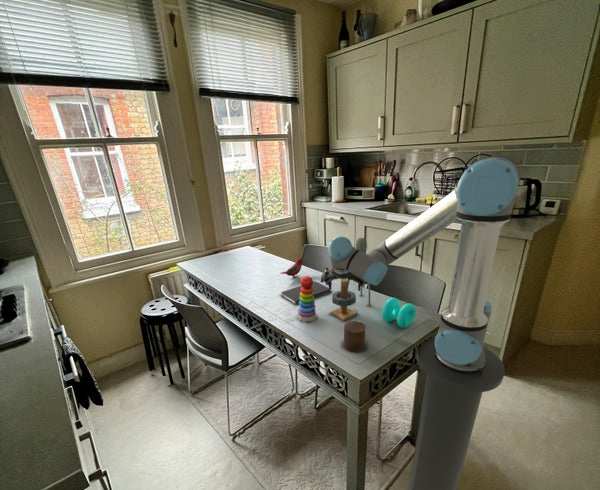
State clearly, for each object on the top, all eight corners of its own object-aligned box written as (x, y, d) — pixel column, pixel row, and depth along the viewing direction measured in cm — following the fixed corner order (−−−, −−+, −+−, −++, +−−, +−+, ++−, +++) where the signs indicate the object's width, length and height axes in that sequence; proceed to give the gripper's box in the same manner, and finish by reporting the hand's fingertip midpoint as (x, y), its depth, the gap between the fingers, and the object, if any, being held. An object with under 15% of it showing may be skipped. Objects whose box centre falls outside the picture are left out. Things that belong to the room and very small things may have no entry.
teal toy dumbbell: (393, 314, 133) (395, 293, 129) (415, 323, 126) (418, 301, 122) (379, 323, 127) (381, 301, 123) (401, 333, 120) (404, 310, 116)
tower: (357, 314, 135) (358, 280, 128) (344, 321, 130) (345, 285, 123) (343, 308, 140) (343, 274, 134) (330, 314, 136) (330, 280, 129)
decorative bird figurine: (305, 274, 177) (304, 257, 173) (282, 284, 166) (281, 266, 162) (301, 273, 179) (301, 256, 175) (278, 283, 168) (277, 265, 164)
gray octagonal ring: (360, 300, 131) (360, 295, 130) (344, 308, 126) (344, 302, 125) (343, 293, 138) (343, 288, 137) (327, 300, 133) (327, 295, 132)
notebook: (295, 304, 145) (330, 291, 156) (295, 301, 144) (330, 288, 155) (280, 295, 155) (315, 283, 165) (280, 292, 154) (314, 281, 165)
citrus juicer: (361, 295, 151) (363, 233, 139) (377, 301, 144) (382, 238, 132) (344, 302, 145) (346, 239, 132) (361, 310, 138) (364, 244, 125)
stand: (369, 345, 114) (370, 326, 111) (355, 354, 110) (356, 335, 106) (353, 337, 119) (353, 318, 116) (339, 345, 115) (339, 326, 112)
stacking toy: (313, 323, 129) (312, 281, 122) (295, 320, 132) (292, 279, 124) (318, 314, 136) (318, 274, 128) (301, 311, 139) (299, 272, 131)
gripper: (308, 273, 114) (316, 293, 134) (375, 276, 109) (373, 296, 129) (310, 255, 116) (317, 277, 136) (376, 257, 111) (374, 279, 131)
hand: (344, 287), depth 133 cm, fingers open, 11 cm apart
